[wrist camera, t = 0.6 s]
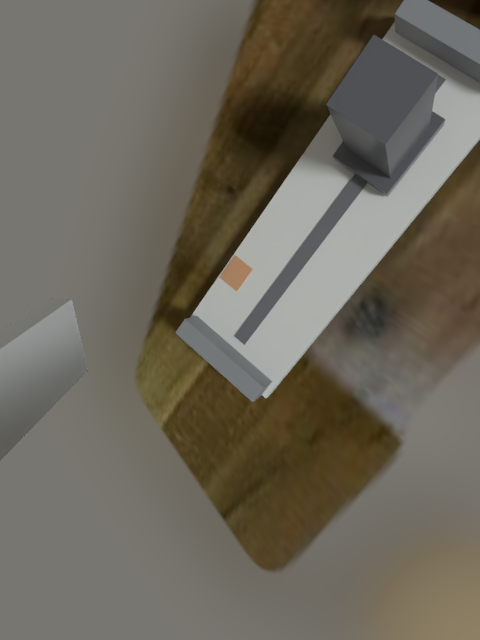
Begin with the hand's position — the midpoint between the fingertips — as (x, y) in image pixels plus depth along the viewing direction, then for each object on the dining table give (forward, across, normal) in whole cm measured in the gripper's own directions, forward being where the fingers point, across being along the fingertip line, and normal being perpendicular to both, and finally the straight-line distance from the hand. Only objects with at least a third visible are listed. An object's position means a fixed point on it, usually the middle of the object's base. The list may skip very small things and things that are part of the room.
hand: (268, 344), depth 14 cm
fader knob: (+25, +6, +4) cm, 25 cm away
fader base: (+25, +2, -2) cm, 25 cm away
